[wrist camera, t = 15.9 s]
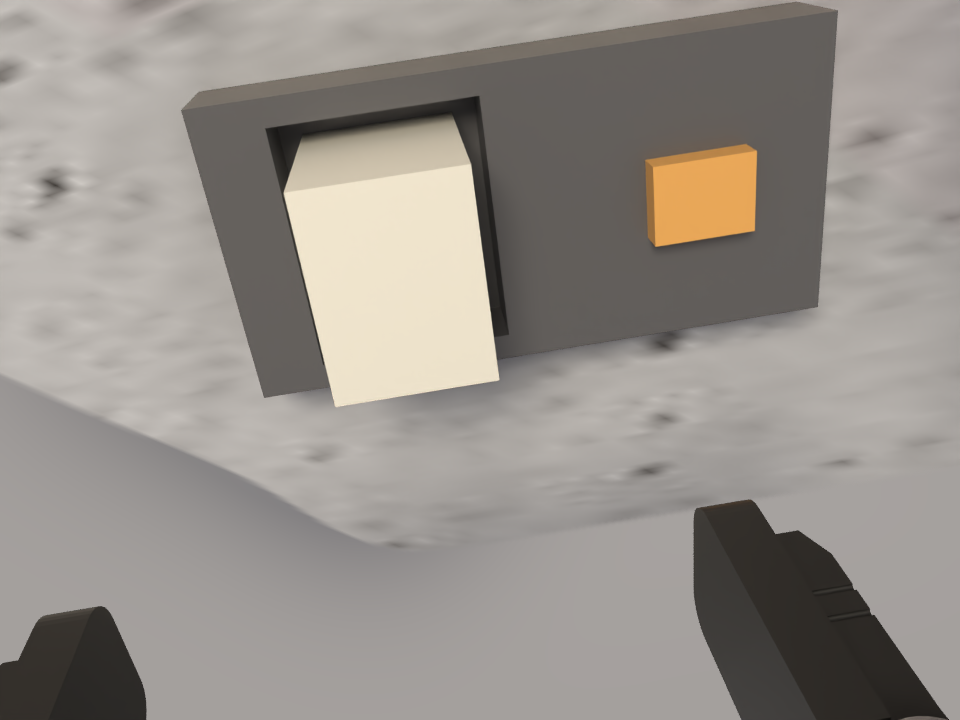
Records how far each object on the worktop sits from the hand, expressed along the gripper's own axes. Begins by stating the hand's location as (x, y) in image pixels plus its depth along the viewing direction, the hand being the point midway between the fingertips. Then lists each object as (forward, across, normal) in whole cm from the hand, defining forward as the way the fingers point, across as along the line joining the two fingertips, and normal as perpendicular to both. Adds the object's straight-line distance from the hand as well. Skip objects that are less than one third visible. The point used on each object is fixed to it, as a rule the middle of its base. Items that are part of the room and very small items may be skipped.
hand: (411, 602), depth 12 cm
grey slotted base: (+18, -4, 0) cm, 18 cm away
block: (+17, 0, 0) cm, 17 cm away
